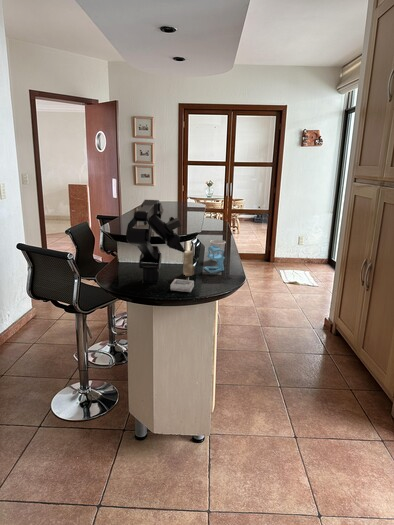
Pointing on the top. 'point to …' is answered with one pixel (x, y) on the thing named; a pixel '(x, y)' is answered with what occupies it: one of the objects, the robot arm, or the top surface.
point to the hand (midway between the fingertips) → (181, 249)
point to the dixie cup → (217, 245)
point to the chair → (216, 257)
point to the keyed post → (188, 263)
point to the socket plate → (182, 285)
